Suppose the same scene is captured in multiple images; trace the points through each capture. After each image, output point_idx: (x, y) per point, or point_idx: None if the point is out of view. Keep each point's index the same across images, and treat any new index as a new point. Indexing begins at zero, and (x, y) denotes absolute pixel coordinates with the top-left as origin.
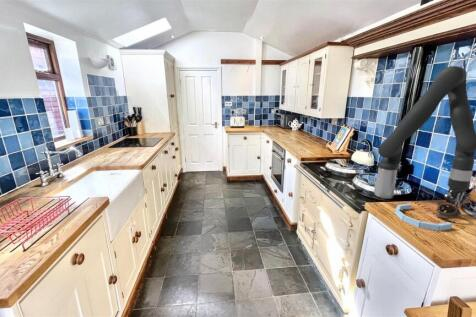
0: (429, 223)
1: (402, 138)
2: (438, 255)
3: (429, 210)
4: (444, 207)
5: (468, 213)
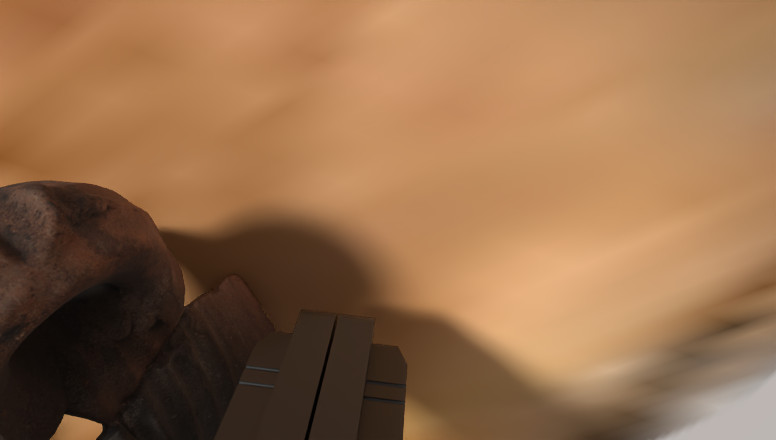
0: None
1: None
2: None
3: (14, 15)
4: (55, 361)
5: (682, 401)
